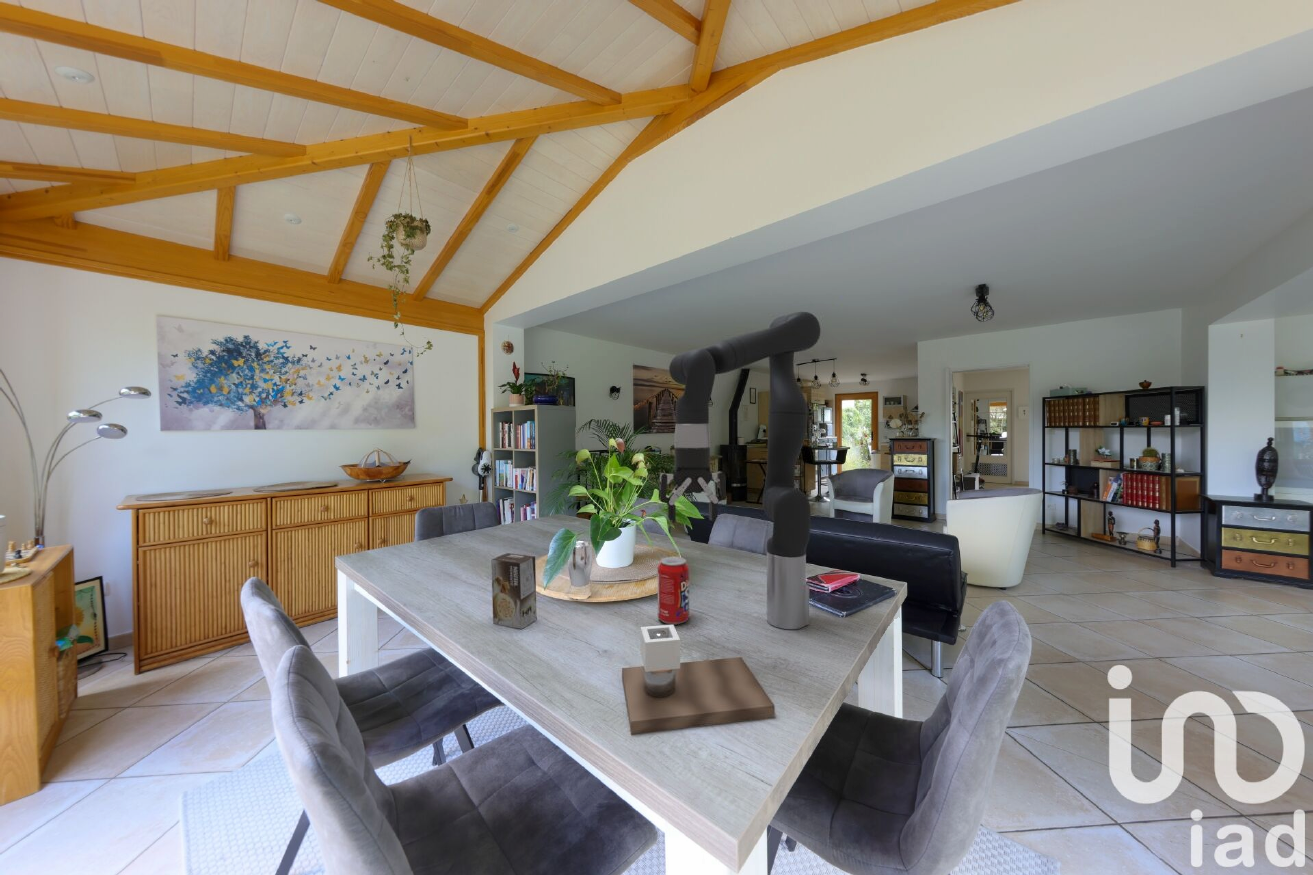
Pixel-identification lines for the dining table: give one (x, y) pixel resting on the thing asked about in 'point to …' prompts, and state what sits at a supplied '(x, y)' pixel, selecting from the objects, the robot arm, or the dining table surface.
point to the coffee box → (514, 590)
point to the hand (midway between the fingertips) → (692, 521)
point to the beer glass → (580, 564)
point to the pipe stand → (693, 695)
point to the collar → (660, 649)
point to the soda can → (673, 590)
